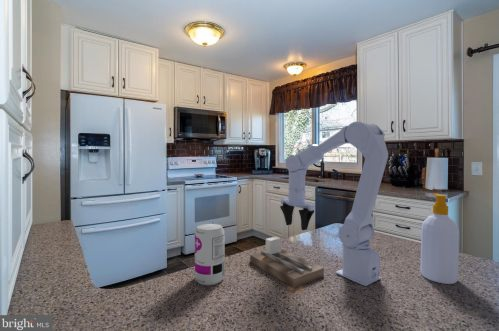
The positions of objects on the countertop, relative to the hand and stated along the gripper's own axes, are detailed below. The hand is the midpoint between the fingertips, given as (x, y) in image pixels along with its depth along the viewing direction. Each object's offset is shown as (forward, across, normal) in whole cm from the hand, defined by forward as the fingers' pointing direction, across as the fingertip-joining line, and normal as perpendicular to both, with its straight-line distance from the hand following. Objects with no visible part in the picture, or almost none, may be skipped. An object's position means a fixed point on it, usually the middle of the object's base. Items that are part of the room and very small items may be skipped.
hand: (296, 227), depth 92 cm
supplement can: (+10, 0, -34) cm, 35 cm away
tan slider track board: (+9, +7, -12) cm, 17 cm away
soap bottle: (+10, +36, +21) cm, 43 cm away
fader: (+7, +2, -12) cm, 14 cm away
